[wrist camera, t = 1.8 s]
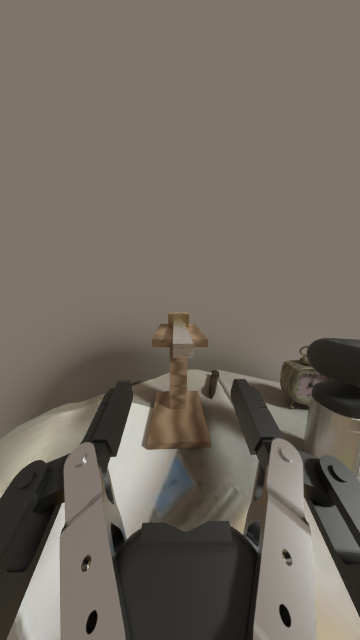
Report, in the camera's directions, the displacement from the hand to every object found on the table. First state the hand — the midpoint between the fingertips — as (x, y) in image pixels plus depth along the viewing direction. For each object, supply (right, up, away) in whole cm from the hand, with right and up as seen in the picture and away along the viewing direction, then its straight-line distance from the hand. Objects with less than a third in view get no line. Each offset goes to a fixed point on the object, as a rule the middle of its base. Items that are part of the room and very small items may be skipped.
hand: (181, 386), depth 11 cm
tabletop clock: (+49, -29, +46) cm, 73 cm away
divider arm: (0, +1, +29) cm, 29 cm away
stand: (-1, -30, +40) cm, 50 cm away
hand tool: (+17, -28, +57) cm, 66 cm away
